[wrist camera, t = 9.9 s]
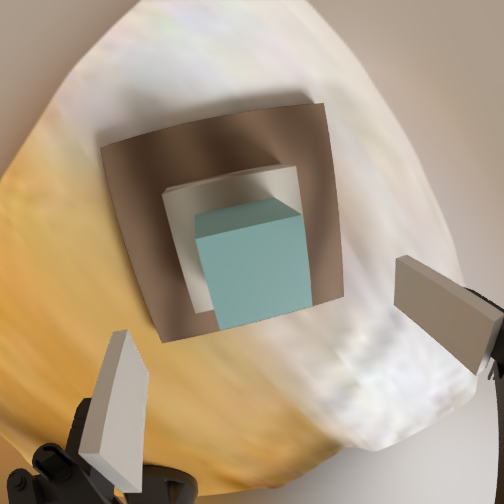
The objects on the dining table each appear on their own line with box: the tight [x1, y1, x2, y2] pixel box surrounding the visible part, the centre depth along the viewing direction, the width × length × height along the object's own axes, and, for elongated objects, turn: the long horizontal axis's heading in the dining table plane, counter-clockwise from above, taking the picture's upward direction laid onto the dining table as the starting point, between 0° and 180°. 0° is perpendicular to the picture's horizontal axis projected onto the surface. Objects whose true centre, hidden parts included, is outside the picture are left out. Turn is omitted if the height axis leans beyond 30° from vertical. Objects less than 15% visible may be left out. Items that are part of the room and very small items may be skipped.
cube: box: [195, 197, 313, 330], centre depth 20 cm, size 6×6×6 cm
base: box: [100, 103, 344, 343], centre depth 25 cm, size 20×20×6 cm
